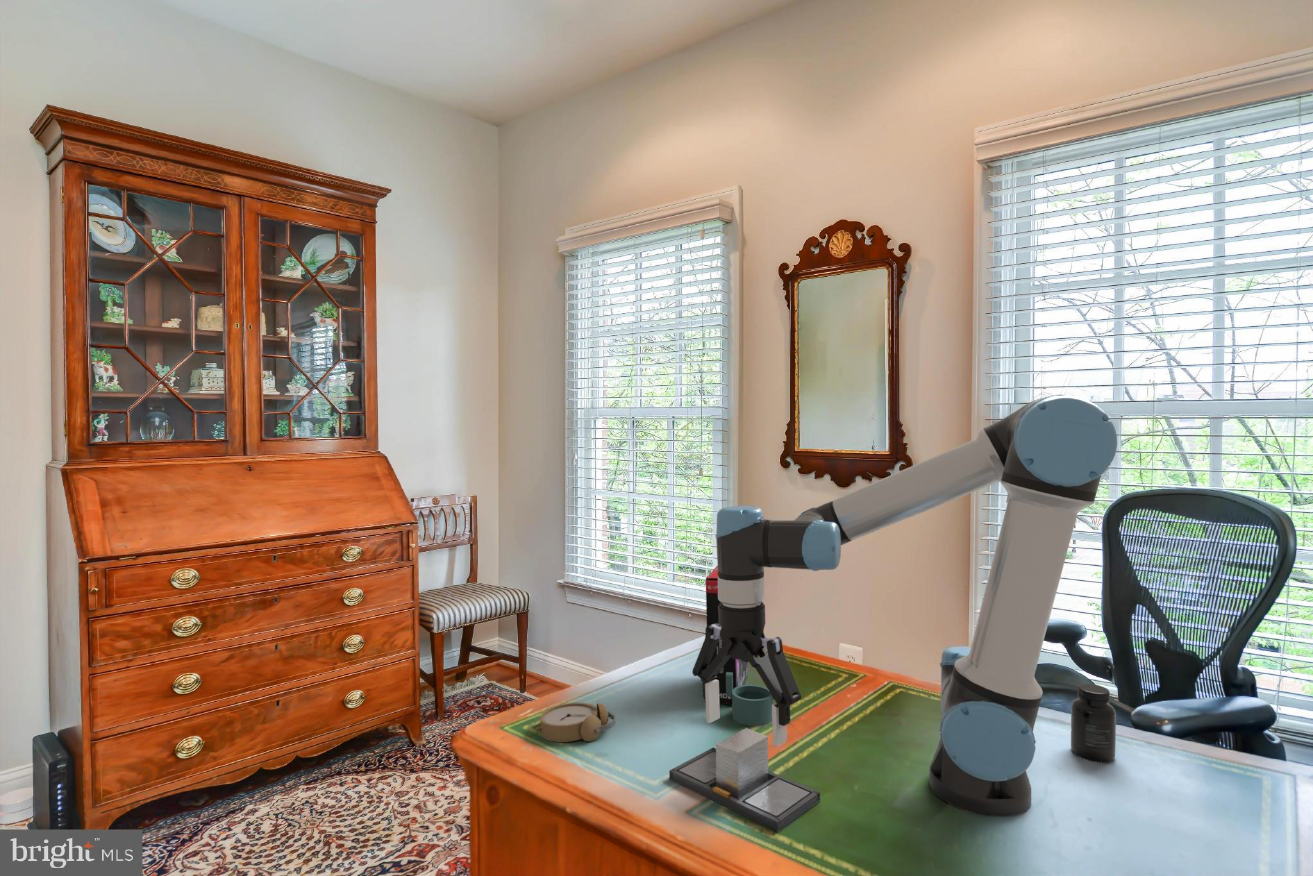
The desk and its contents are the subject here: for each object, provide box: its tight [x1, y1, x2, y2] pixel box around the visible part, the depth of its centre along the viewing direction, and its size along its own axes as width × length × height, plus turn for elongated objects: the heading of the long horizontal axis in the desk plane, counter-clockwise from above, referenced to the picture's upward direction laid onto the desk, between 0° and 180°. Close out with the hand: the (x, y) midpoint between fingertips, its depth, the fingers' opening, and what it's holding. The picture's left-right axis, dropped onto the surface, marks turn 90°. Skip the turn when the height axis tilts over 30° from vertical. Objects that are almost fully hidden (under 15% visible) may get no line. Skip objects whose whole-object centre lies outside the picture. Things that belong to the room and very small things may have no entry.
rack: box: [668, 747, 821, 833], centre depth 117 cm, size 22×12×2 cm, turn 46°
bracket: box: [726, 672, 774, 727], centre depth 145 cm, size 9×9×9 cm
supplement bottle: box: [1070, 683, 1117, 764], centre depth 128 cm, size 7×7×12 cm
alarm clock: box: [534, 702, 617, 743], centre depth 139 cm, size 11×5×15 cm
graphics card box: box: [705, 564, 749, 706], centre depth 158 cm, size 17×7×27 cm, turn 165°
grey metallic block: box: [715, 727, 769, 800], centre depth 116 cm, size 4×8×8 cm, turn 136°
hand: (745, 731), depth 116 cm, fingers open, 13 cm apart
